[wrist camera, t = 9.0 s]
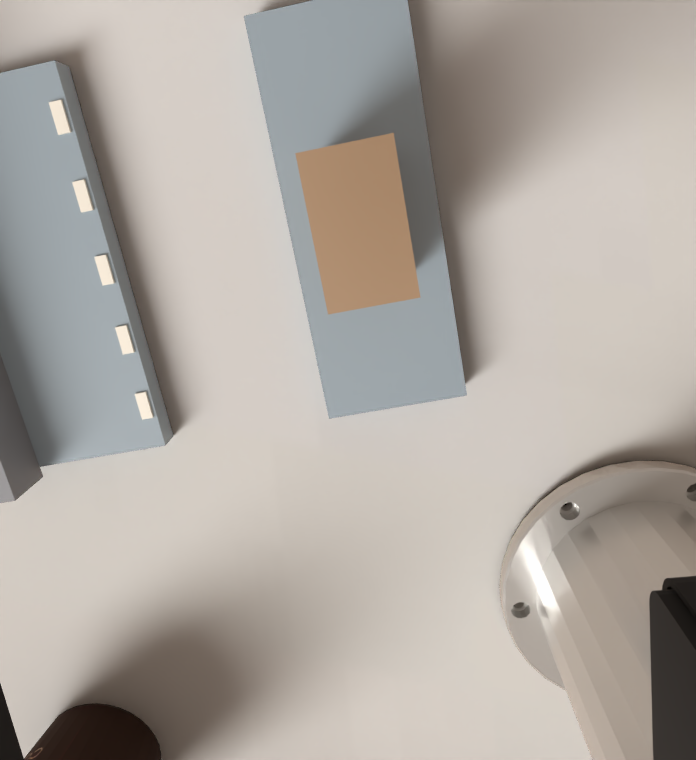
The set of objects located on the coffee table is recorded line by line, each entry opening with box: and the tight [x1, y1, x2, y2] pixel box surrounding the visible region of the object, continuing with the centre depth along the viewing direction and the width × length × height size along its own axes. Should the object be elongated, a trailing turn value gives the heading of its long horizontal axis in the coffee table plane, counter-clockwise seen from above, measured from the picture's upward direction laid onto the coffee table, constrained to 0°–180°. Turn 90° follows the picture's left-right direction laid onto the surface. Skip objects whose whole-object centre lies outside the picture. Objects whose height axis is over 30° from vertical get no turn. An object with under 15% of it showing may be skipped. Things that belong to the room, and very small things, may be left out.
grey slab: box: [244, 0, 467, 419], centre depth 24 cm, size 6×16×7 cm, turn 11°
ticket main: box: [0, 60, 173, 503], centre depth 27 cm, size 9×17×4 cm, turn 11°
